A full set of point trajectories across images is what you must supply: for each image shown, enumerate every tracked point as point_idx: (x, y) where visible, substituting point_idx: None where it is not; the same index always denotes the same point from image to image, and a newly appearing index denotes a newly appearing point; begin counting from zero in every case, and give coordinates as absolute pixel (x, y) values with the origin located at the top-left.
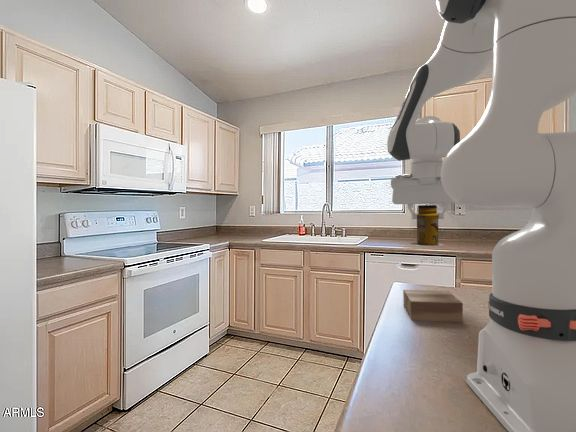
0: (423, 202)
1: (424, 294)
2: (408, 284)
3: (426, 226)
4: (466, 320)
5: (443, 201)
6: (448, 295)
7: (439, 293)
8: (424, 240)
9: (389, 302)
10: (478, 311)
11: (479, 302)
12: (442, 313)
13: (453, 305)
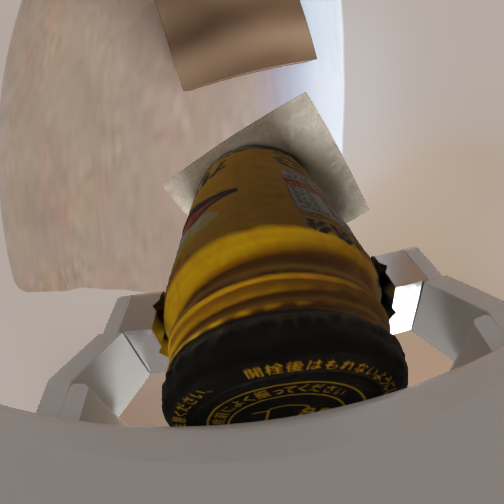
0: (382, 408)
1: (250, 21)
2: None
3: (271, 175)
4: (152, 9)
5: (44, 429)
6: (182, 36)
7: (207, 48)
8: (274, 152)
9: (343, 83)
10: (123, 89)
11: (123, 172)
12: None
13: None
